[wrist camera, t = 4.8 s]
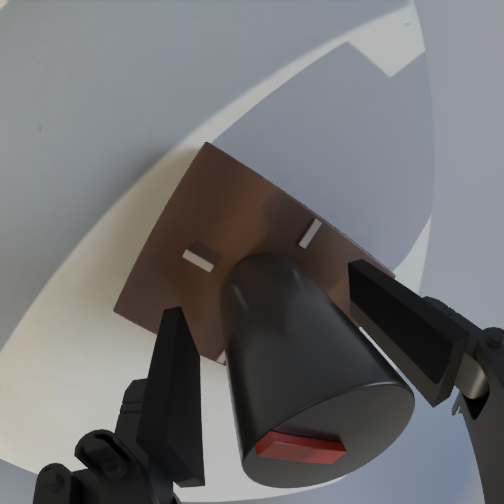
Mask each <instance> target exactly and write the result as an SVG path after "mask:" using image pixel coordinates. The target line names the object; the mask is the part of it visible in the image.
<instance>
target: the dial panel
mask: <svg viewBox="0 0 504 504" xmlns="http://www.w3.org/2000/svg"><path fill="white" fill-rule="evenodd" d="M263 253H275V254H281V255H284V256H287V257H289V258H291V259H293V260H294V261H296V262H297V263H298V264H299V265H300V266H301V267H302V268H303V269H304V270H305V271H306V272H307V273H308V274H309V275H310V276H311V277H312V278H313V279H314V280H315V281H316V283H317V284H318V285H319V286H320V287H321V288H322V289H323V290H324V291H325V292H326V293H327V294H328V296H329V297H330V298H331V299H332V300H333V301H334V302H335V303H336V304H337V305H338V306H339V308H340V309H341V310H342V311H343V312H344V313H345V314H346V315H347V316H348V318H349V319H350V320H351V321H352V322H353V323H354V324H355V325H356V326H357V327H358V329H359V327H360V325H359V324H358V323H357V322H356V321H355V320H354V319H353V318H352V316H351V314H350V292H349V275H348V263H349V262H352V261H356V260H359V259H364V260H365V261H367V262H369V263H370V264H372V265H373V266H375V267H376V268H378V269H379V270H381V271H382V272H384V273H386V274H387V275H389V276H390V277H392V278H393V279H394V278H395V274H393V273H392V272H391V271H390V270H389V269H387V268H386V267H385V266H384V265H382V264H381V263H380V262H379V261H377V260H376V259H375V258H374V257H372V256H371V255H370V254H369V253H367V252H366V251H365V250H364V249H362V248H361V247H360V246H358V245H357V244H356V243H355V242H353V241H352V240H351V239H349V238H348V237H347V236H345V235H344V234H343V233H342V232H340V231H339V230H338V229H336V228H335V227H334V226H332V225H331V224H329V223H328V222H327V221H325V220H324V219H323V218H321V217H320V216H319V215H317V214H316V213H314V212H313V211H312V210H310V209H309V208H307V207H306V206H305V205H303V204H302V203H300V202H299V201H298V200H296V199H295V198H293V197H292V196H290V195H289V194H287V193H286V192H285V191H283V190H282V189H280V188H279V187H277V186H276V185H274V184H273V183H271V182H270V181H268V180H267V179H265V178H264V177H262V176H261V175H259V174H258V173H256V172H255V171H253V170H252V169H250V168H249V167H247V166H245V165H244V164H242V163H241V162H239V161H238V160H236V159H234V158H233V157H231V156H230V155H228V154H227V153H225V152H223V151H222V150H220V149H218V148H217V147H215V146H214V145H212V144H210V143H209V142H205V143H204V145H203V146H202V148H201V149H200V151H199V152H198V154H197V155H196V157H195V159H194V160H193V162H192V163H191V165H190V166H189V168H188V170H187V171H186V173H185V174H184V176H183V178H182V179H181V181H180V183H179V184H178V186H177V188H176V189H175V191H174V193H173V194H172V196H171V198H170V199H169V201H168V203H167V205H166V206H165V208H164V210H163V212H162V213H161V215H160V217H159V219H158V221H157V222H156V224H155V226H154V228H153V230H152V232H151V233H150V235H149V237H148V239H147V241H146V243H145V245H144V247H143V249H142V251H141V253H140V255H139V257H138V259H137V260H136V263H135V265H134V267H133V269H132V271H131V273H130V275H129V277H128V279H127V281H126V283H125V285H124V287H123V290H122V292H121V294H120V296H119V298H118V300H117V303H116V305H115V307H114V309H113V311H114V312H115V313H117V314H119V315H120V316H122V317H124V318H126V319H128V320H129V321H131V322H133V323H135V324H137V325H139V326H141V327H143V328H145V329H146V330H148V331H150V332H152V333H154V334H156V335H158V330H159V326H160V323H161V319H162V315H163V311H164V310H165V309H169V308H174V307H178V306H181V307H182V310H183V313H184V316H185V318H186V321H187V324H188V327H189V329H190V332H191V335H192V337H193V340H194V342H195V345H196V348H197V350H198V353H199V355H201V356H203V357H206V358H208V359H210V360H213V361H215V362H217V363H220V364H222V365H225V366H226V359H225V351H224V343H223V334H222V326H221V317H220V308H219V292H220V288H221V285H222V283H223V281H224V279H225V277H226V276H227V274H228V273H229V272H230V271H231V270H232V269H233V268H234V267H235V266H236V265H237V264H238V263H240V262H241V261H243V260H245V259H247V258H249V257H251V256H254V255H258V254H263Z"/></svg>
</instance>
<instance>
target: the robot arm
mask: <svg viewBox="0 0 504 504" xmlns="http://www.w3.org/2000/svg"><path fill="white" fill-rule="evenodd" d="M348 275H349V292H350V314H351V316H352V318H353V319H354V320H355V321H356V322H357V323H358V324H359V325H360V326H361V327H362V328H363V329H364V331H365V332H366V333H367V334H368V335H369V336H370V337H371V338H372V339H373V340H374V341H375V343H376V344H377V345H378V346H379V347H380V348H381V349H382V350H383V351H384V353H385V354H386V355H387V356H388V357H389V358H390V359H391V360H392V361H393V363H394V364H395V365H396V366H397V367H398V368H399V369H400V370H401V372H402V373H403V374H404V375H405V376H406V377H407V378H408V379H409V381H410V382H411V383H412V384H413V385H414V386H415V387H416V389H418V391H419V392H420V393H421V394H422V396H423V397H424V398H425V399H426V400H427V401H428V403H429V404H430V405H431V406H432V407H433V408H434V407H435V406H437V405H438V404H440V403H441V402H443V401H444V400H446V399H447V398H449V397H450V395H451V392H452V389H453V387H454V385H455V386H456V387H457V388H458V389H459V390H460V391H459V394H458V396H457V399H456V401H455V403H454V405H453V408H452V415H455V413H456V411H457V409H458V407H459V405H460V409H459V413H462V414H463V417H464V420H465V423H466V426H467V429H468V432H469V435H470V439H471V442H472V446H473V449H474V453H475V457H476V461H477V465H478V469H479V474H480V478H481V483H482V488H483V493H484V499H485V504H504V330H503V329H500V328H496V327H492V328H486V329H484V330H481V329H480V328H479V327H477V326H476V325H474V324H473V323H472V322H470V321H469V320H467V319H466V318H464V317H463V316H462V315H460V314H459V313H456V312H455V311H454V310H453V309H451V308H450V307H449V308H448V306H447V305H445V304H444V303H443V302H441V301H440V300H437V299H434V298H431V297H428V296H426V297H423V298H421V297H420V296H418V295H417V294H415V293H414V292H413V291H411V290H410V289H408V288H407V287H405V286H404V285H402V284H401V283H399V282H398V281H396V280H395V279H393V278H392V277H390V276H389V275H387V274H386V273H384V272H382V271H381V270H379V269H378V268H376V267H375V266H373V265H372V264H370V263H369V262H367V261H365V260H364V259H359V260H356V261H352V262H349V263H348ZM122 403H123V405H121V409H120V414H119V417H118V421H117V425H116V429H115V433H113V432H111V431H109V430H104V429H100V430H94V431H92V432H90V433H87V434H86V435H84V436H83V437H82V438H81V439H80V440H79V442H78V444H77V445H76V447H75V454H74V456H75V457H76V458H78V459H79V460H80V461H81V462H82V463H83V464H84V465H85V466H86V467H87V468H88V469H83V470H78V471H74V472H71V471H70V470H68V469H67V468H66V467H65V466H64V465H62V464H58V463H53V464H49V465H47V466H45V467H44V468H43V469H42V470H41V471H40V472H39V475H38V478H37V481H36V487H35V493H34V499H33V504H181V502H180V500H179V498H178V497H177V495H176V494H175V493H174V492H173V481H174V482H175V483H176V484H177V485H178V486H179V487H180V488H183V487H197V486H205V477H204V462H203V445H202V422H201V387H200V355H199V353H198V350H197V348H196V345H195V342H194V340H193V337H192V335H191V332H190V329H189V327H188V324H187V321H186V318H185V316H184V313H183V310H182V307H181V306H178V307H174V308H169V309H165V310H164V311H163V315H162V319H161V323H160V326H159V330H158V335H157V339H156V343H155V347H154V351H153V356H152V360H151V364H150V369H149V374H148V378H146V379H139V380H133V381H132V383H131V384H130V385H129V387H128V388H127V389H126V391H125V394H124V397H123V401H122Z"/></svg>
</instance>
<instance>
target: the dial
mask: <svg viewBox="0 0 504 504" xmlns="http://www.w3.org/2000/svg"><path fill="white" fill-rule="evenodd" d="M219 308H220V317H221V326H222V334H223V343H224V351H225V359H226V366H227V374H228V381H229V388H230V395H231V402H232V409H233V416H234V422H235V429H236V435H237V441H238V447H239V453H240V459H241V465H242V468H243V471H244V472H245V473H246V475H247V476H248V477H249V478H250V479H252V480H253V481H255V482H257V483H259V484H261V485H265V486H269V487H275V488H299V487H306V486H312V485H317V484H320V483H324V482H328V481H331V480H334V479H336V478H339V477H341V476H344V475H346V474H348V473H350V472H353V471H354V470H356V469H358V468H360V467H362V466H363V465H365V464H367V463H368V462H370V461H371V460H373V459H374V458H376V457H377V456H378V455H380V454H381V453H382V452H383V451H384V450H386V449H387V448H388V447H389V446H390V445H391V444H392V443H393V442H394V441H395V440H396V439H397V438H398V437H399V436H400V434H401V433H402V432H403V430H404V429H405V428H406V426H407V425H408V423H409V421H410V419H411V417H412V414H413V411H414V407H415V398H414V393H413V391H412V389H411V388H410V387H409V386H408V384H407V383H406V382H405V381H404V380H403V379H402V377H401V376H400V375H399V374H398V373H397V372H396V371H395V369H394V368H393V367H392V366H391V365H390V364H389V362H388V361H387V360H386V359H385V358H384V357H383V356H382V355H381V353H380V352H379V351H378V350H377V349H376V348H375V347H374V345H373V344H372V343H371V342H370V341H369V340H368V339H367V338H366V336H365V335H364V334H363V333H362V332H361V331H360V330H359V329H358V327H357V326H356V325H355V324H354V323H353V322H352V321H351V320H350V319H349V318H348V316H347V315H346V314H345V313H344V312H343V311H342V310H341V309H340V308H339V306H338V305H337V304H336V303H335V302H334V301H333V300H332V299H331V298H330V297H329V296H328V294H327V293H326V292H325V291H324V290H323V289H322V288H321V287H320V286H319V285H318V284H317V283H316V281H315V280H314V279H313V278H312V277H311V276H310V275H309V274H308V273H307V272H306V271H305V270H304V269H303V268H302V267H301V266H300V265H299V264H298V263H297V262H296V261H294V260H293V259H291V258H289V257H287V256H284V255H281V254H275V253H263V254H258V255H254V256H251V257H249V258H247V259H245V260H243V261H241V262H240V263H238V264H237V265H236V266H235V267H234V268H233V269H232V270H231V271H230V272H229V273H228V274H227V276H226V277H225V279H224V281H223V283H222V285H221V288H220V292H219Z"/></svg>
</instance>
